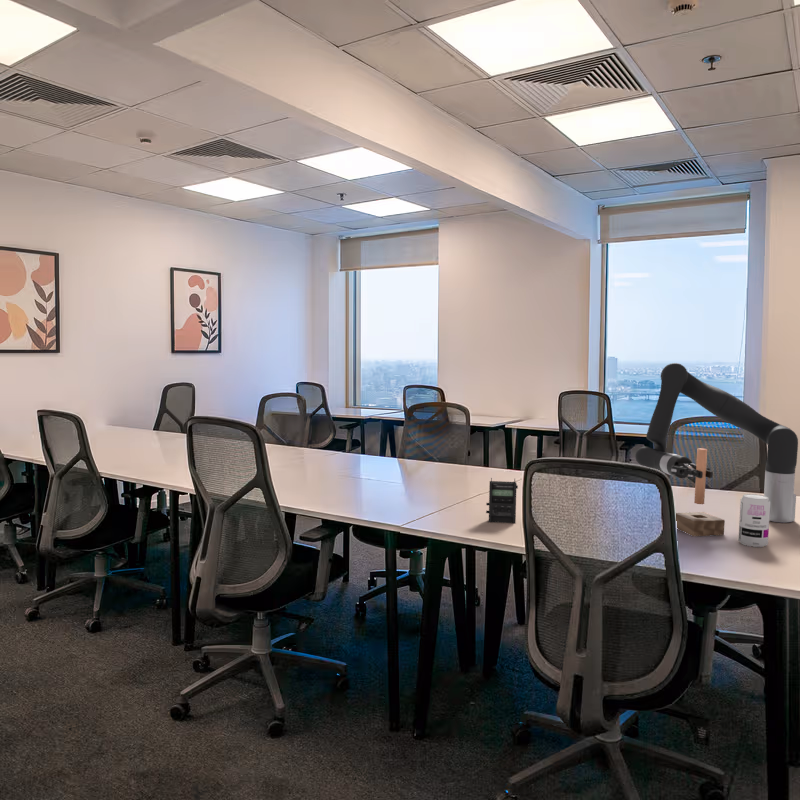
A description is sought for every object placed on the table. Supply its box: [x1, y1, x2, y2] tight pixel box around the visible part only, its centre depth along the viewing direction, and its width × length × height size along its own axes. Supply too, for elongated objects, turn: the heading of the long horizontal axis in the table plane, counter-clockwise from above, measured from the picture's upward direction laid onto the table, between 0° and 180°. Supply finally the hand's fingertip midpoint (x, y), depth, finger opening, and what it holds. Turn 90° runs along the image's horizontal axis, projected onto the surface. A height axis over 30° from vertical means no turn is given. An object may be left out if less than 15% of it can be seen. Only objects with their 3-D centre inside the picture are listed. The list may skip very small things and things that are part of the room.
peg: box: [694, 447, 708, 505], centre depth 230 cm, size 3×3×18 cm
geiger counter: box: [485, 477, 519, 524], centre depth 239 cm, size 10×4×15 cm, turn 82°
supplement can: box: [738, 493, 770, 548], centre depth 216 cm, size 8×8×15 cm
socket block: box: [675, 511, 726, 537], centre depth 231 cm, size 11×11×5 cm
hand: (706, 474), depth 227 cm, fingers closed on peg, 3 cm apart
